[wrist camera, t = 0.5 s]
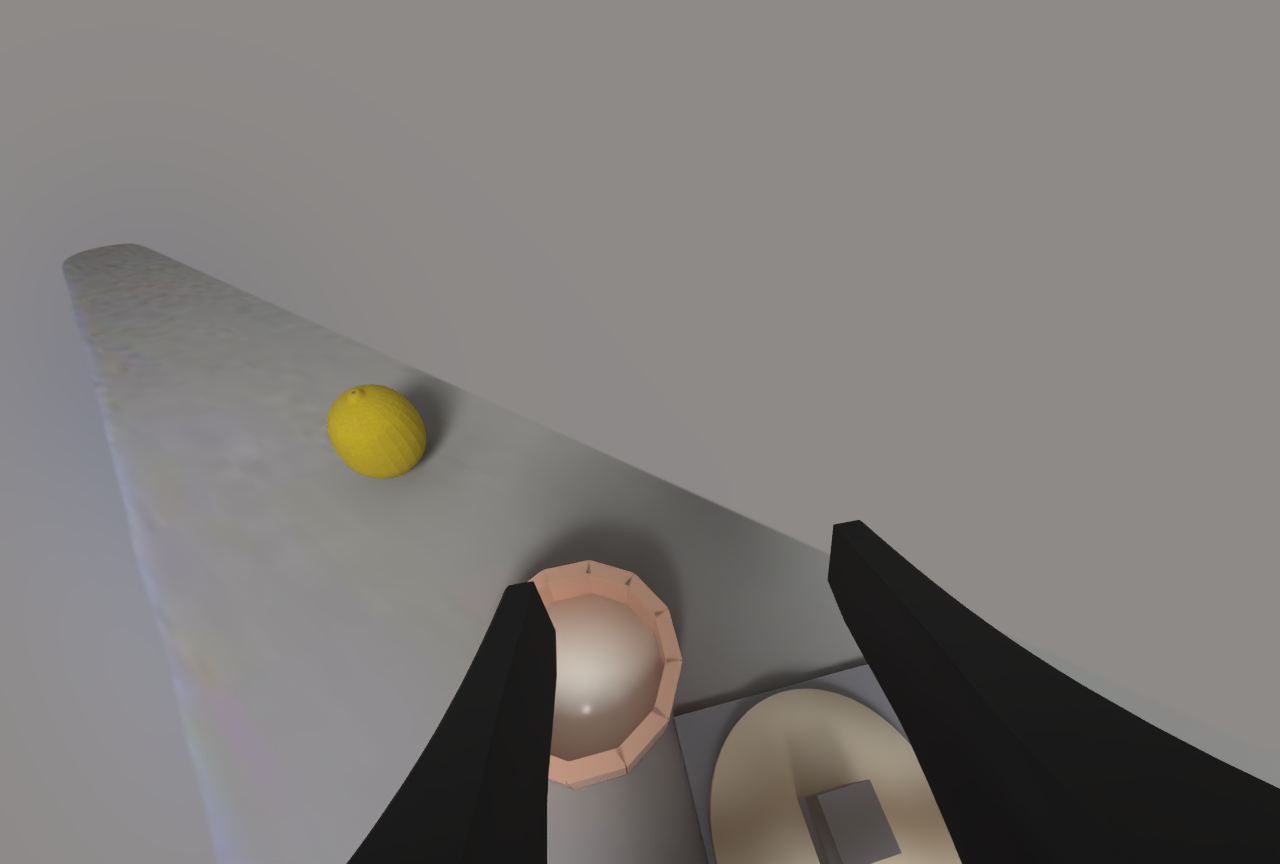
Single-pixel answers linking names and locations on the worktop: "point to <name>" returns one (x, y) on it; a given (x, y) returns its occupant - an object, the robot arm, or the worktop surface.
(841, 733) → the lid
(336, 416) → the lemon
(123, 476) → the worktop surface
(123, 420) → the worktop surface
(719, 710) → the mat
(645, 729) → the bowl
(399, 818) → the robot arm
